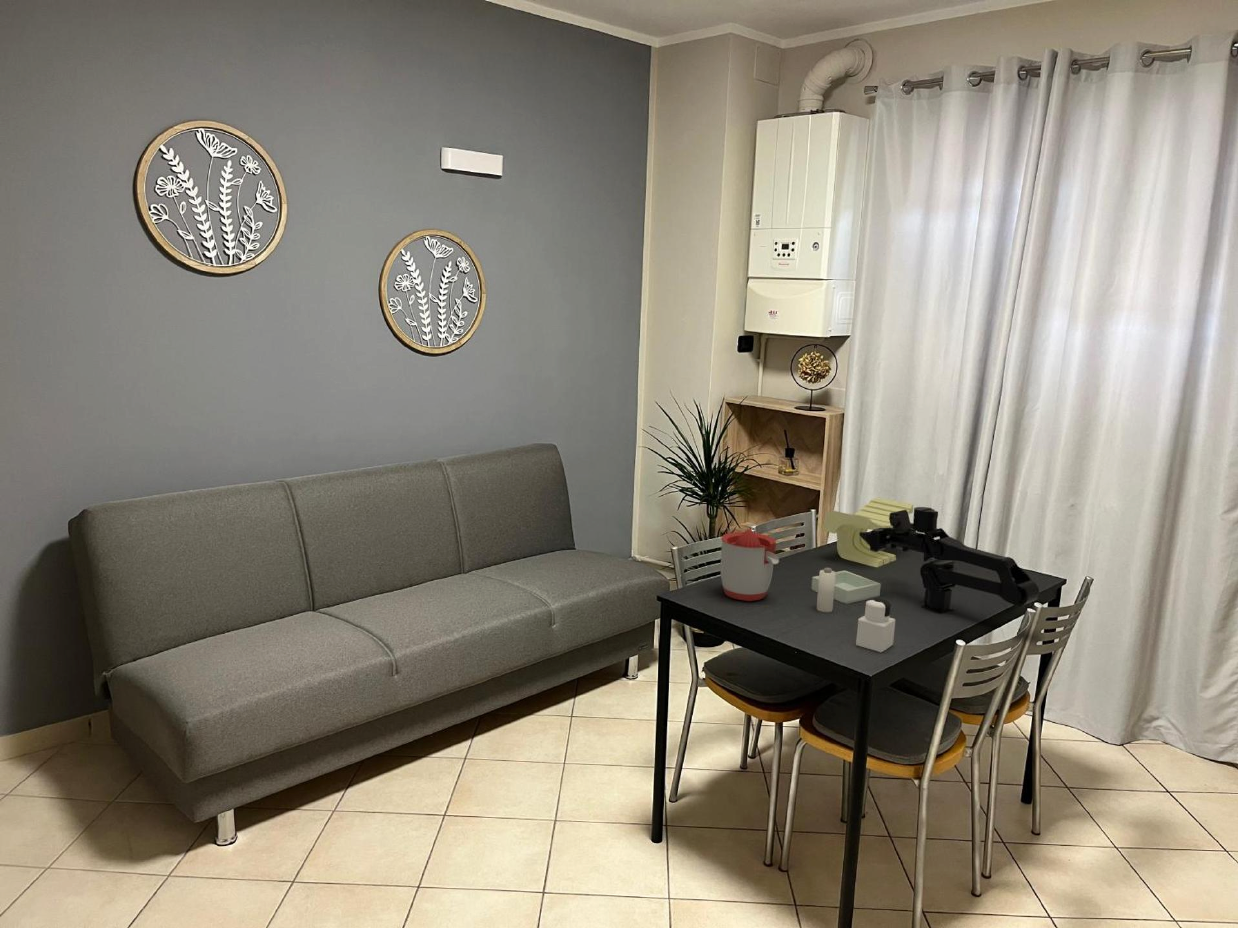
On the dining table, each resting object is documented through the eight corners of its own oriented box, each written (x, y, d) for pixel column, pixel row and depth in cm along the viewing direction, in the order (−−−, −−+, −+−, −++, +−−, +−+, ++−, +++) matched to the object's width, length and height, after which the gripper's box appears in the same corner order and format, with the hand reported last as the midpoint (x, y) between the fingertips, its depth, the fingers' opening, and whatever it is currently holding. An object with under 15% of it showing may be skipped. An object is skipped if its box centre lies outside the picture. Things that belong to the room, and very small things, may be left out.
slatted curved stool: (866, 544, 329) (871, 495, 325) (908, 555, 318) (913, 504, 314) (820, 560, 307) (825, 508, 304) (863, 572, 296) (868, 518, 293)
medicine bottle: (867, 637, 241) (871, 593, 239) (893, 645, 237) (897, 600, 235) (855, 645, 236) (859, 600, 234) (881, 653, 232) (886, 607, 229)
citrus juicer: (760, 609, 259) (765, 540, 255) (707, 595, 269) (711, 528, 265) (786, 596, 271) (791, 530, 267) (735, 582, 281) (739, 519, 277)
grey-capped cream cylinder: (835, 610, 261) (839, 569, 258) (824, 613, 258) (828, 571, 256) (824, 605, 264) (827, 565, 262) (813, 608, 262) (816, 567, 259)
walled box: (879, 596, 274) (880, 583, 273) (846, 604, 266) (847, 590, 265) (843, 582, 285) (845, 570, 284) (811, 589, 278) (812, 576, 277)
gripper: (933, 510, 274) (889, 502, 286) (895, 518, 263) (851, 509, 275) (931, 547, 276) (887, 537, 288) (893, 556, 264) (849, 546, 276)
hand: (869, 531), depth 282 cm, fingers open, 9 cm apart
